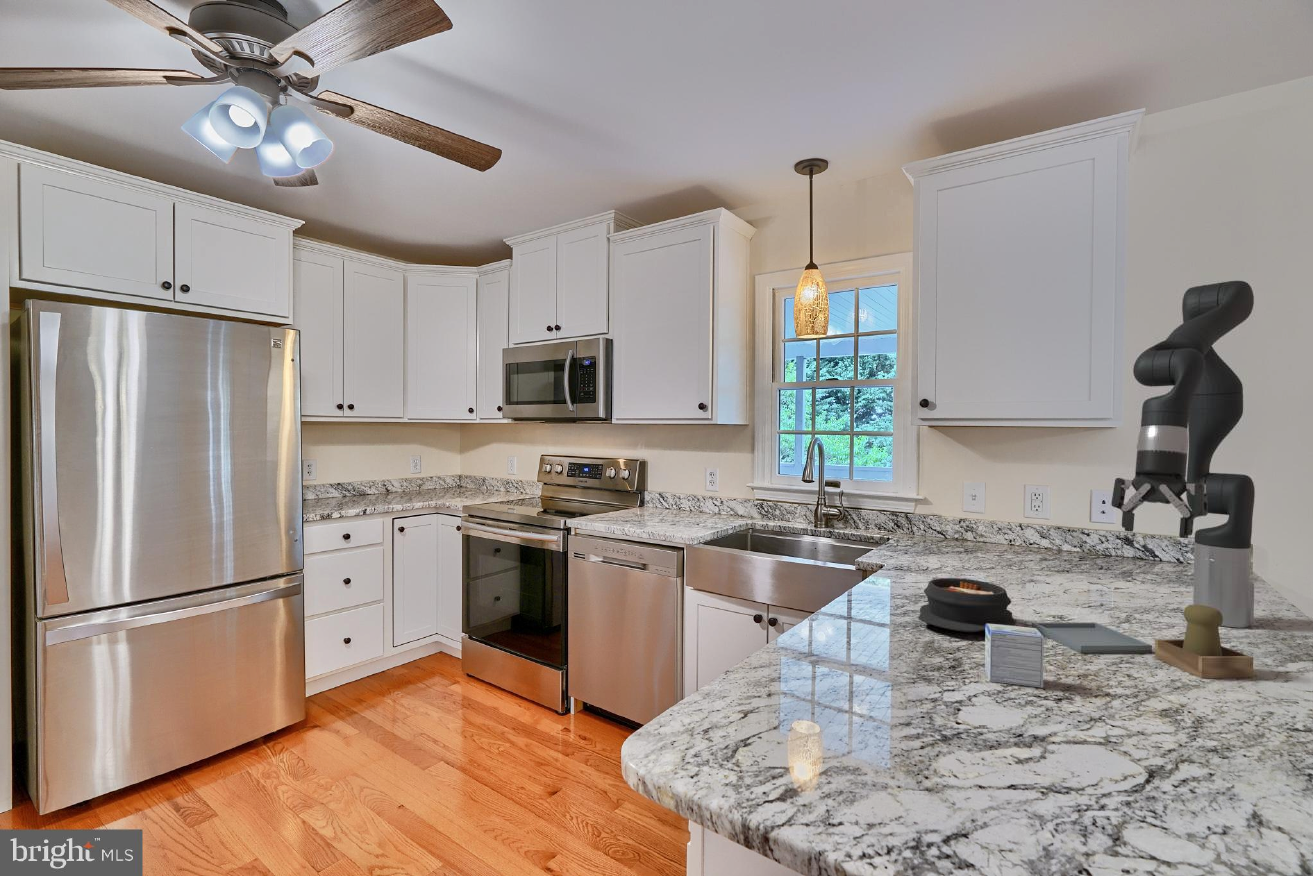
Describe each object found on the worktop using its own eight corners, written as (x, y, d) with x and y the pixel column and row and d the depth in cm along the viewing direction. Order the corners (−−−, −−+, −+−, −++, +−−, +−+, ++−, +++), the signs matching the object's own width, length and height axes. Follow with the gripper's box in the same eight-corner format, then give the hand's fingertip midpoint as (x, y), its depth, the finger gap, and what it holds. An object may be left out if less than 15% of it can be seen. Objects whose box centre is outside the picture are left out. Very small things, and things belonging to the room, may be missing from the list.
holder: (1202, 657, 113) (1202, 639, 113) (1252, 677, 104) (1253, 657, 104) (1154, 658, 112) (1155, 639, 112) (1201, 678, 103) (1201, 657, 103)
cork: (1234, 675, 105) (1235, 612, 104) (1193, 672, 106) (1194, 609, 106) (1209, 662, 110) (1210, 602, 110) (1171, 660, 112) (1172, 600, 112)
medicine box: (1036, 678, 102) (1037, 627, 102) (1043, 689, 98) (1044, 636, 98) (984, 672, 105) (984, 622, 105) (989, 682, 101) (989, 630, 100)
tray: (1095, 629, 129) (1095, 622, 129) (1151, 653, 115) (1152, 645, 115) (1031, 629, 128) (1031, 622, 128) (1080, 653, 114) (1080, 645, 114)
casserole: (947, 604, 147) (948, 570, 147) (1033, 623, 133) (1034, 585, 133) (896, 624, 131) (897, 586, 131) (988, 648, 117) (989, 605, 116)
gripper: (1216, 455, 113) (1210, 541, 112) (1126, 452, 125) (1119, 530, 124) (1202, 449, 109) (1196, 539, 108) (1110, 447, 121) (1103, 528, 120)
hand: (1155, 534), depth 116 cm, fingers open, 8 cm apart
